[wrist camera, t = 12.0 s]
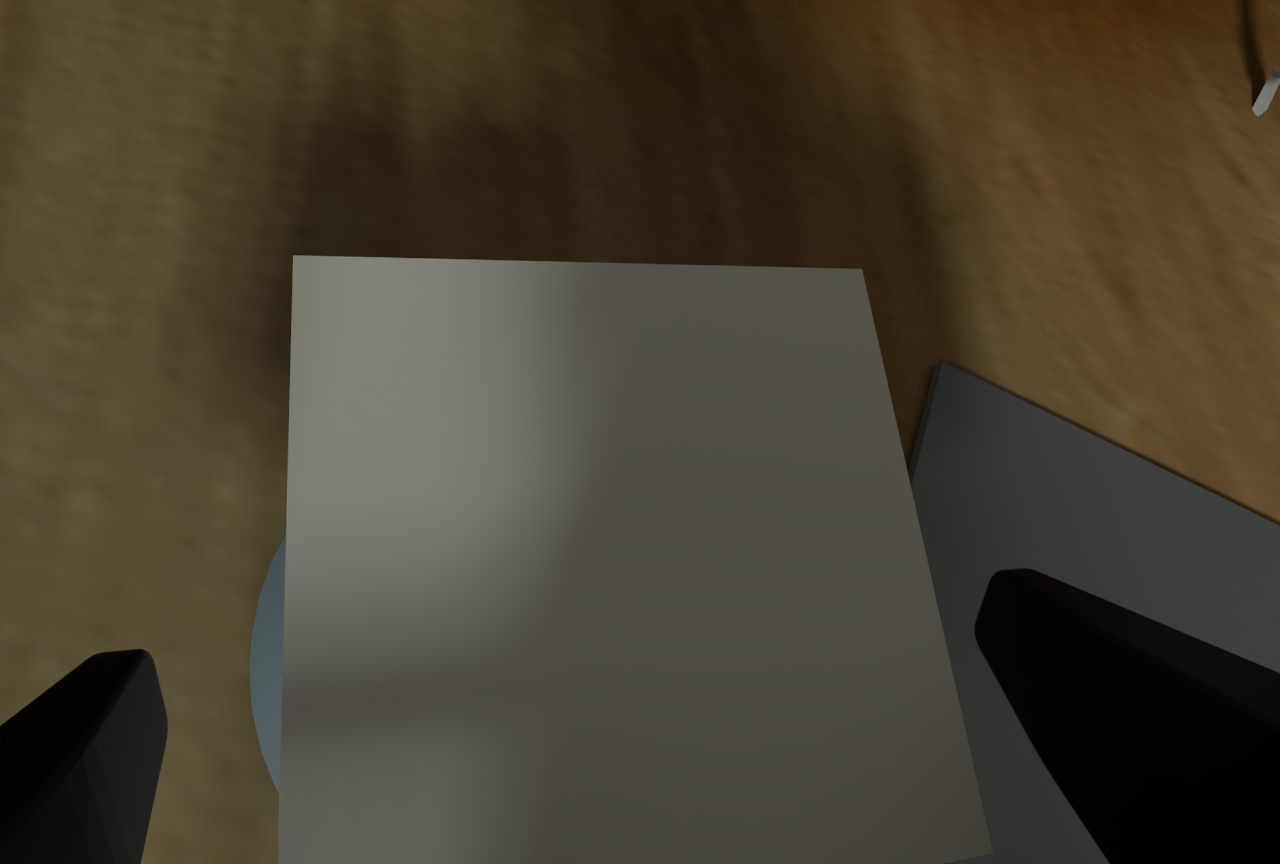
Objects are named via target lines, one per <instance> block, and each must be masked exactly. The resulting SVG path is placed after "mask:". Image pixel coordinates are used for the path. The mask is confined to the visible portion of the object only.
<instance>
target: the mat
mask: <svg viewBox="0 0 1280 864" xmlns="http://www.w3.org/2000/svg"><path fill="white" fill-rule="evenodd" d="M908 476H909V480H910V485H911V489H912V494H913V498H914V503H915V507H916V512H917V516H918V521H919V525H920V529H921V534H922V538H923V543H924V547H925V552H926V556H927V561H928V565H929V570H930V574H931V579H932V583H933V587H934V592H935V596H936V601H937V605H938V610H939V614H940V619H941V623H942V628H943V632H944V636H945V641H946V645H947V650H948V654H949V659H950V663H951V668H952V672H953V677H954V681H955V686H956V690H957V694H958V699H959V703H960V708H961V712H962V717H963V721H964V726H965V730H966V735H967V739H968V744H969V748H970V752H971V757H972V761H973V766H974V770H975V775H976V779H977V784H978V788H979V793H980V797H981V801H982V806H983V810H984V815H985V819H986V824H987V828H988V833H989V837H990V842H991V846H992V851H993V854H988V855H983V856H978V857H973V858H968V859H963V860H959V861H954V862H949V863H944V864H1109V862H1108V861H1107V859H1106V858H1105V856H1104V855H1103V853H1102V852H1101V850H1100V849H1099V847H1098V846H1097V844H1096V843H1095V841H1094V840H1093V838H1092V837H1091V835H1090V834H1089V832H1088V831H1087V829H1086V828H1085V826H1084V825H1083V823H1082V822H1081V820H1080V819H1079V817H1078V816H1077V814H1076V813H1075V811H1074V809H1073V808H1072V806H1071V805H1070V803H1069V802H1068V800H1067V799H1066V797H1065V796H1064V794H1063V793H1062V791H1061V790H1060V788H1059V787H1058V785H1057V784H1056V782H1055V781H1054V779H1053V778H1052V776H1051V775H1050V773H1049V772H1048V770H1047V769H1046V767H1045V765H1044V764H1043V762H1042V761H1041V759H1040V757H1039V756H1038V754H1037V752H1036V750H1035V749H1034V747H1033V745H1032V744H1031V742H1030V740H1029V738H1028V736H1027V735H1026V733H1025V731H1024V729H1023V727H1022V725H1021V724H1020V722H1019V720H1018V718H1017V716H1016V714H1015V713H1014V711H1013V709H1012V707H1011V705H1010V703H1009V702H1008V700H1007V698H1006V696H1005V694H1004V692H1003V691H1002V689H1001V687H1000V685H999V683H998V681H997V680H996V678H995V676H994V674H993V672H992V671H991V669H990V667H989V665H988V663H987V661H986V660H985V658H984V656H983V654H982V652H981V650H980V649H979V647H978V644H977V642H976V639H975V633H974V625H975V621H976V618H977V615H978V612H979V609H980V606H981V603H982V600H983V597H984V594H985V592H986V589H987V586H988V583H989V580H990V578H991V577H992V576H993V575H994V574H995V573H996V572H997V571H1000V570H1005V569H1016V568H1030V569H1033V570H1036V571H1039V572H1041V573H1043V574H1046V575H1048V576H1050V577H1053V578H1055V579H1058V580H1060V581H1062V582H1065V583H1067V584H1069V585H1072V586H1074V587H1077V588H1079V589H1081V590H1084V591H1086V592H1088V593H1091V594H1093V595H1096V596H1098V597H1100V598H1103V599H1105V600H1107V601H1110V602H1112V603H1115V604H1117V605H1119V606H1122V607H1124V608H1126V609H1129V610H1131V611H1134V612H1136V613H1138V614H1141V615H1143V616H1145V617H1148V618H1150V619H1153V620H1155V621H1157V622H1160V623H1162V624H1164V625H1167V626H1169V627H1172V628H1174V629H1176V630H1179V631H1181V632H1183V633H1186V634H1188V635H1191V636H1193V637H1195V638H1198V639H1200V640H1202V641H1205V642H1207V643H1210V644H1212V645H1214V646H1217V647H1219V648H1221V649H1224V650H1226V651H1229V652H1231V653H1233V654H1236V655H1238V656H1241V657H1243V658H1245V659H1248V660H1250V661H1252V662H1255V663H1257V664H1260V665H1262V666H1264V667H1267V668H1269V669H1271V670H1274V671H1276V672H1279V673H1280V526H1279V525H1277V524H1275V523H1273V522H1271V521H1269V520H1267V519H1265V518H1263V517H1261V516H1259V515H1257V514H1255V513H1253V512H1251V511H1249V510H1247V509H1244V508H1242V507H1240V506H1238V505H1236V504H1234V503H1232V502H1230V501H1228V500H1226V499H1224V498H1222V497H1220V496H1218V495H1216V494H1214V493H1212V492H1210V491H1208V490H1205V489H1203V488H1201V487H1199V486H1197V485H1195V484H1193V483H1191V482H1189V481H1187V480H1185V479H1183V478H1181V477H1179V476H1177V475H1175V474H1173V473H1171V472H1169V471H1166V470H1164V469H1162V468H1160V467H1158V466H1156V465H1154V464H1152V463H1150V462H1148V461H1146V460H1144V459H1142V458H1140V457H1138V456H1136V455H1134V454H1132V453H1130V452H1127V451H1125V450H1123V449H1121V448H1119V447H1117V446H1115V445H1113V444H1111V443H1109V442H1107V441H1105V440H1103V439H1101V438H1099V437H1097V436H1095V435H1093V434H1091V433H1088V432H1086V431H1084V430H1082V429H1080V428H1078V427H1076V426H1074V425H1072V424H1070V423H1068V422H1066V421H1064V420H1062V419H1060V418H1058V417H1056V416H1054V415H1052V414H1049V413H1047V412H1045V411H1043V410H1041V409H1039V408H1037V407H1035V406H1033V405H1031V404H1029V403H1027V402H1025V401H1023V400H1021V399H1019V398H1017V397H1015V396H1012V395H1010V394H1008V393H1006V392H1004V391H1002V390H1000V389H998V388H996V387H994V386H992V385H990V384H988V383H986V382H984V381H982V380H980V379H978V378H976V377H973V376H971V375H969V374H967V373H965V372H963V371H961V370H959V369H957V368H955V367H953V366H951V365H949V364H947V363H945V362H941V363H940V364H938V365H937V366H935V367H934V371H933V374H932V378H931V382H930V386H929V390H928V394H927V398H926V402H925V406H924V410H923V414H922V418H921V422H920V426H919V430H918V434H917V438H916V441H915V445H914V449H913V453H912V457H911V461H910V465H909V469H908Z"/></svg>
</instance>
